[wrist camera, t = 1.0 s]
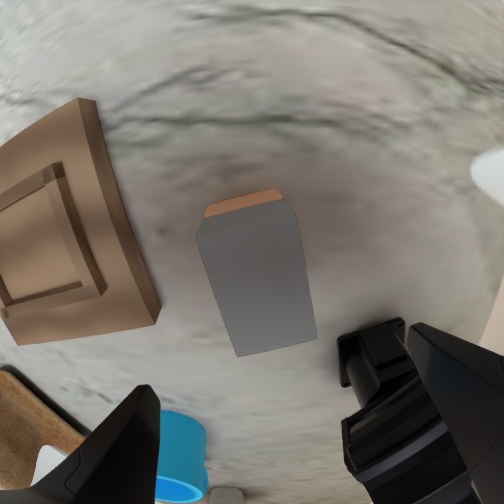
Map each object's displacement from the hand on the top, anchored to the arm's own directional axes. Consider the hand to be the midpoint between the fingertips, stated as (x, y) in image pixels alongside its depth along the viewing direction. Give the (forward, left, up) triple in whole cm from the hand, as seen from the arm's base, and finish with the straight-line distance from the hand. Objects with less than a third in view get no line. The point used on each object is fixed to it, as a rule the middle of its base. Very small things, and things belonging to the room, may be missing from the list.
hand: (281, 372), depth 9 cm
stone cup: (-15, +34, -13) cm, 39 cm away
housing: (0, 0, -12) cm, 12 cm away
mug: (-21, +14, -13) cm, 28 cm away
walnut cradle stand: (+5, +16, -12) cm, 21 cm away
